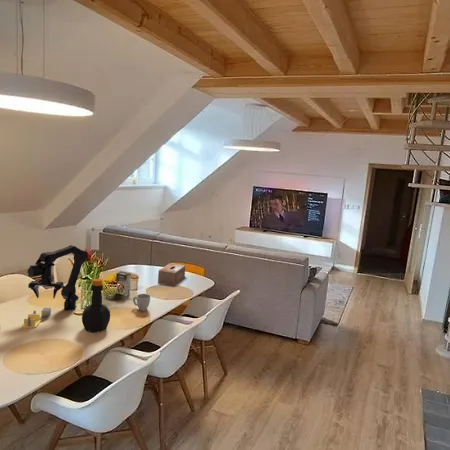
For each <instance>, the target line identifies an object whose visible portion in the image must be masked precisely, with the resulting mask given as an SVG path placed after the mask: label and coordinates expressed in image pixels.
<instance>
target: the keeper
mask: <svg viewBox="0 0 450 450" xmlns="http://www.w3.org/2000/svg"><path fill="white" fill-rule="evenodd" d="M40 317H41V315H40V313H37V310H33V313H28V315H27V318H23V324H22V325H21V326H20V327H21V328H24V329H25V328H27V329H37V327H38V326H39V325H40V323H41V322H42V321H43V319H41V318H40Z"/></svg>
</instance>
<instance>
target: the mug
mask: <svg viewBox="0 0 450 450" xmlns="http://www.w3.org/2000/svg"><path fill="white" fill-rule="evenodd" d="M132 298H133V299H132V303H133V304H134V305H135V306H137V308H138V310H139V311H141V312H146V311H148V308H149V307H150V301H151V295H150V294H148V293H140V294H137V295H136V296H134V297H132Z"/></svg>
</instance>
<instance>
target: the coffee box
mask: <svg viewBox="0 0 450 450" xmlns="http://www.w3.org/2000/svg"><path fill="white" fill-rule="evenodd" d="M115 274H116V276H115V284H116V283H117V284H120V285H123V286H124V290H125V293H124V296H123V297H127V296H129V295H130V294H131V282H132V281H131V278H132V273H131V272H125V271H121V270H120V271H119V272H117V273H115Z"/></svg>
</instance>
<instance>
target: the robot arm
mask: <svg viewBox="0 0 450 450" xmlns="http://www.w3.org/2000/svg"><path fill="white" fill-rule="evenodd" d="M70 254H72V255H73V261H74V263H73V265H72V268H71V270H70V274H69V278H68V281H67V284H65V285H64V282H63V281H56V282H55V283H54V281H55V276H53V274H52V267H54V266H56V264H55V263H54V262H55V261H56V260H57V259H59V258H62V257H64V256H65V257H66V256H67V255H70ZM88 257H89V254H88V252H87V251H86V250H83V249H80V248H78V247H77V246H75V245H71V244H70V245H68V246H65V247H62V248H61V249H57V250H55V251H45V252H42V253H40V255H39V257H38V259H37V261H36V262H35V264H33V265H29V267H28V269H27V275H28V277H29V278H35V277H39V276H40V282H39V281H38V280H31V281H30V282H29V283H28V289H30V290H32V291H33V293H34V294H35V297H36V298H37V299H39V297H40V294H39V292H40V291H39V287H51V288H52V287H53V288H54V289H53V293H52V294H53V295H52V296H53V297H52V299H55V298H56V295H57V294H58V291H60V295H61V297H62V299H63V300H64V303H63V307H64V311H75V310H76V308H77V301H79V298H80V297H79V296H78V295H77V294H76V292H77V290H76V289H77V288H76V284H77V281H78V279H79V276H80V271H81V270H82V269H81V268H82V265H83V264H85V262H86V261H87V259H88Z"/></svg>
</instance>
